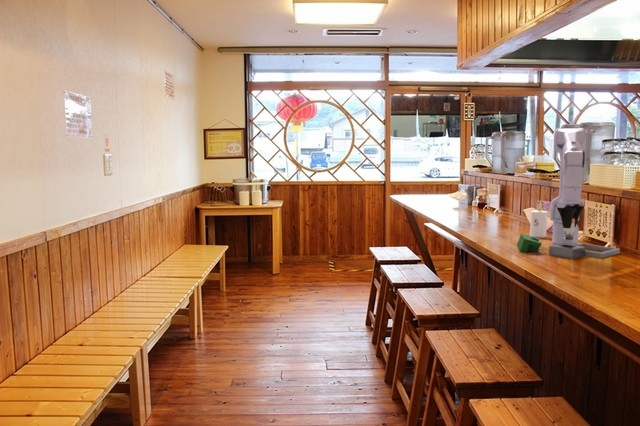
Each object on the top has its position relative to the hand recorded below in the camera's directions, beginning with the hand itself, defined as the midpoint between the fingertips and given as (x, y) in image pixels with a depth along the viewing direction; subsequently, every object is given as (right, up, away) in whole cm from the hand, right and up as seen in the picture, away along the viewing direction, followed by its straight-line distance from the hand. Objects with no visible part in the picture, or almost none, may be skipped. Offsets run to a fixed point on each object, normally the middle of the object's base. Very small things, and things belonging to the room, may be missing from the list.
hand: (569, 227), depth 166 cm
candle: (+8, -5, +42) cm, 43 cm away
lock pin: (0, -4, 0) cm, 4 cm away
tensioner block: (0, -10, +1) cm, 10 cm away
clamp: (-9, -9, +10) cm, 17 cm away
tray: (+10, -10, +5) cm, 15 cm away
